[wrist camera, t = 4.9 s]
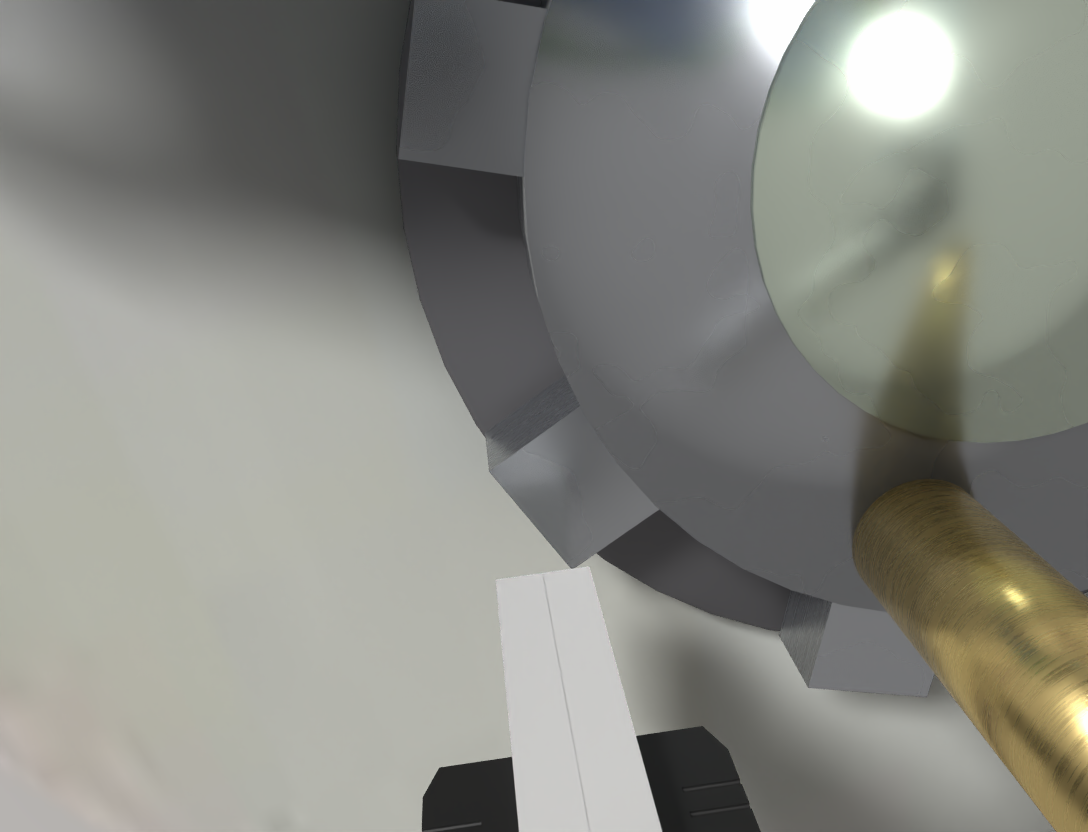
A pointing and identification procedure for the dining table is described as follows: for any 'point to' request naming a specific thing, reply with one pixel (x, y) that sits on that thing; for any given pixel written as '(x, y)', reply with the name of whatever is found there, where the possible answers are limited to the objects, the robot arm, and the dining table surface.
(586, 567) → the robot arm
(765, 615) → the sprocket base
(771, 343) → the sprocket
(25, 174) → the dining table surface
